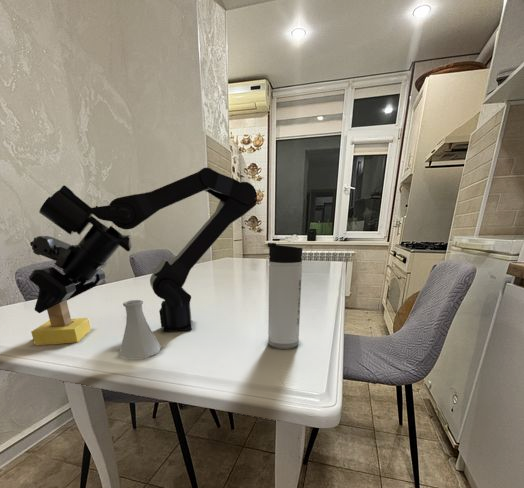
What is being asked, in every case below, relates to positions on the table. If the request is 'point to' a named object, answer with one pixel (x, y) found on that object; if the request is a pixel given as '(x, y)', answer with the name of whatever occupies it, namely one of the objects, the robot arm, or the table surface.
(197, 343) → the table surface
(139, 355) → the flask
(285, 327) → the travel mug
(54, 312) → the peg
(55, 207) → the robot arm
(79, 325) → the holder
